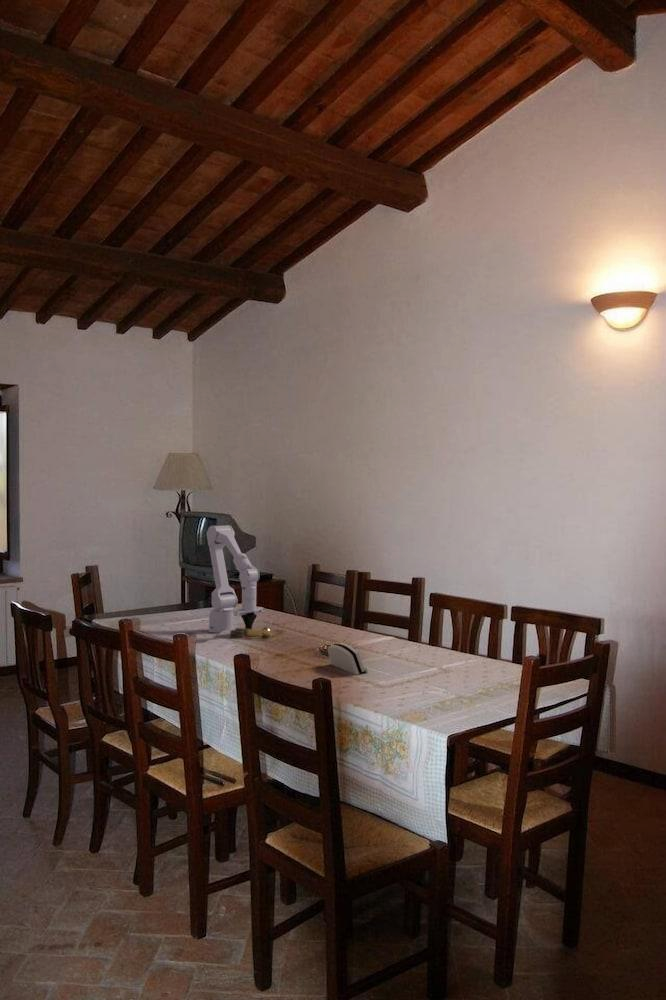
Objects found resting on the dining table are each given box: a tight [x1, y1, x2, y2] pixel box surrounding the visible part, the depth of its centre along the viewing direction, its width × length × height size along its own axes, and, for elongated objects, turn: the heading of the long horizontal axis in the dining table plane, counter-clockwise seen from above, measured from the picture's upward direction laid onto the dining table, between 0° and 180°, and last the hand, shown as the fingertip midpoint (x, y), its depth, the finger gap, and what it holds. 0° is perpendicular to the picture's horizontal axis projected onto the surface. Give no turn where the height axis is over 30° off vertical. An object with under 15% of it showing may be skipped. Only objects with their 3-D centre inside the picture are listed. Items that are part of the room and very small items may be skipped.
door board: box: [225, 627, 287, 642], centre depth 337 cm, size 19×23×4 cm
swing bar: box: [234, 626, 271, 637], centre depth 332 cm, size 14×3×3 cm, turn 76°
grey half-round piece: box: [327, 642, 369, 676], centre depth 288 cm, size 17×5×10 cm, turn 32°
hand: (248, 631), depth 335 cm, fingers closed, pressing on swing bar
